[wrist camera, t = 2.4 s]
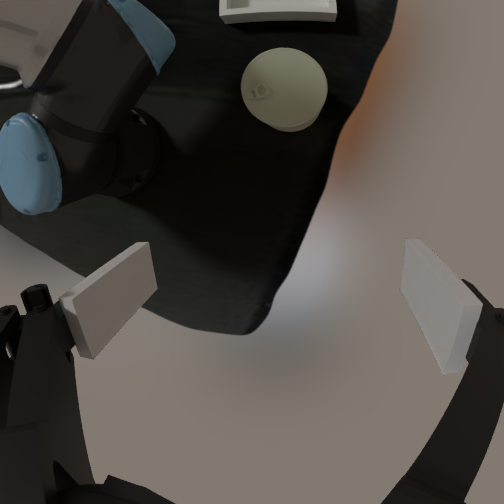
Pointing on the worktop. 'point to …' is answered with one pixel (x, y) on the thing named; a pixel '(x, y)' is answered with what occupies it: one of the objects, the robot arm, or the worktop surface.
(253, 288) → the worktop surface
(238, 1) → the tray
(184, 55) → the worktop surface
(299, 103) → the can
